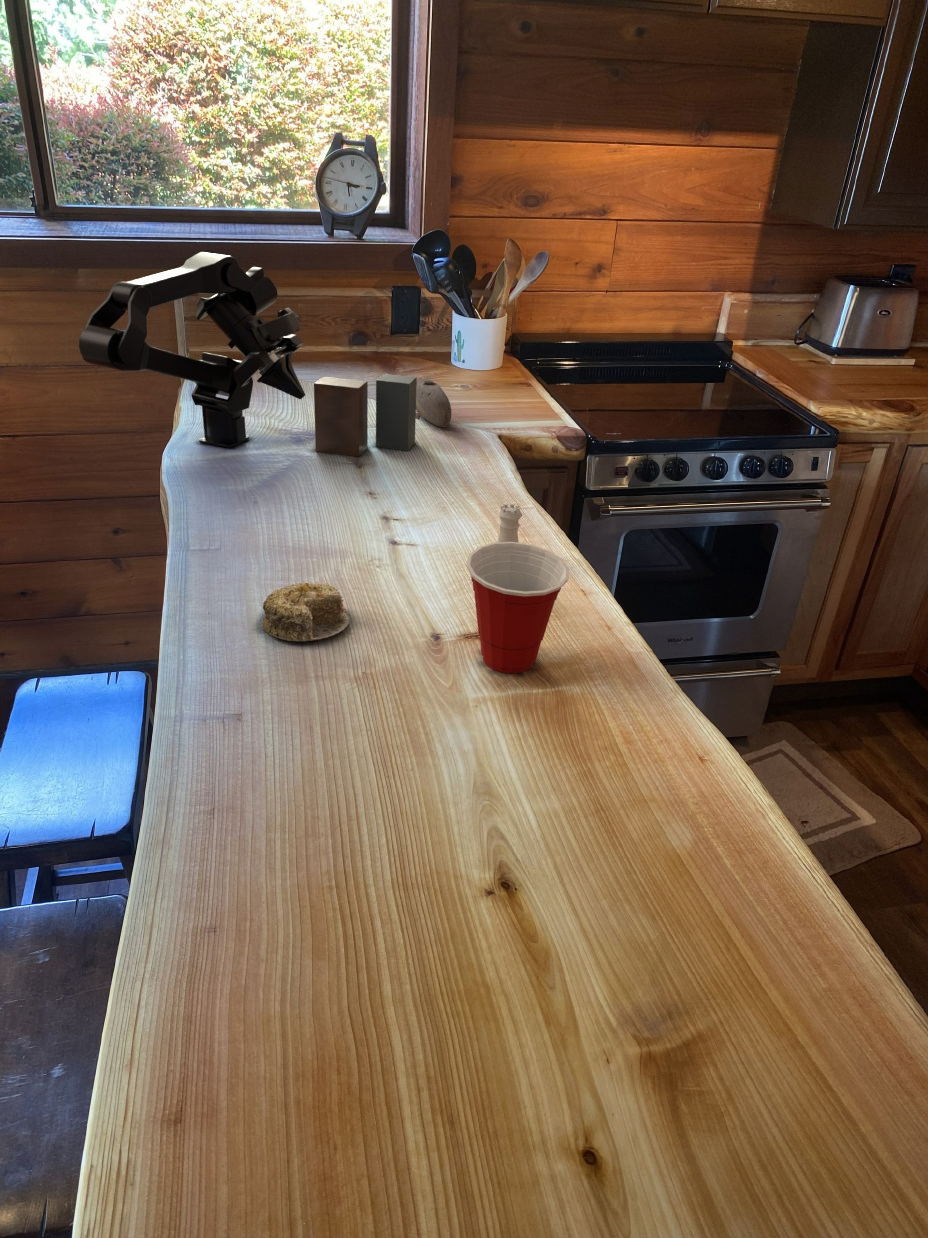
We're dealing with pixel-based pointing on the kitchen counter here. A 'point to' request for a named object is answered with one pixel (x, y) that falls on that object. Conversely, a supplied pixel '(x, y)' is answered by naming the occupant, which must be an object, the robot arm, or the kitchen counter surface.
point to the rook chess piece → (509, 523)
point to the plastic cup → (514, 600)
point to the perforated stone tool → (432, 403)
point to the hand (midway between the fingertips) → (303, 397)
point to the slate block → (395, 411)
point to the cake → (304, 612)
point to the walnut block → (341, 416)
